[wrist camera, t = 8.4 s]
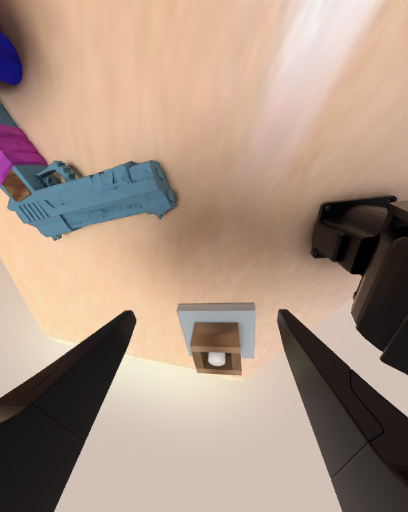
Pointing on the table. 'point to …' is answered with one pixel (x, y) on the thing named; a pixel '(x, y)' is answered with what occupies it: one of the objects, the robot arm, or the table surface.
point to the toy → (9, 62)
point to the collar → (216, 347)
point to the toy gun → (74, 187)
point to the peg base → (220, 313)
